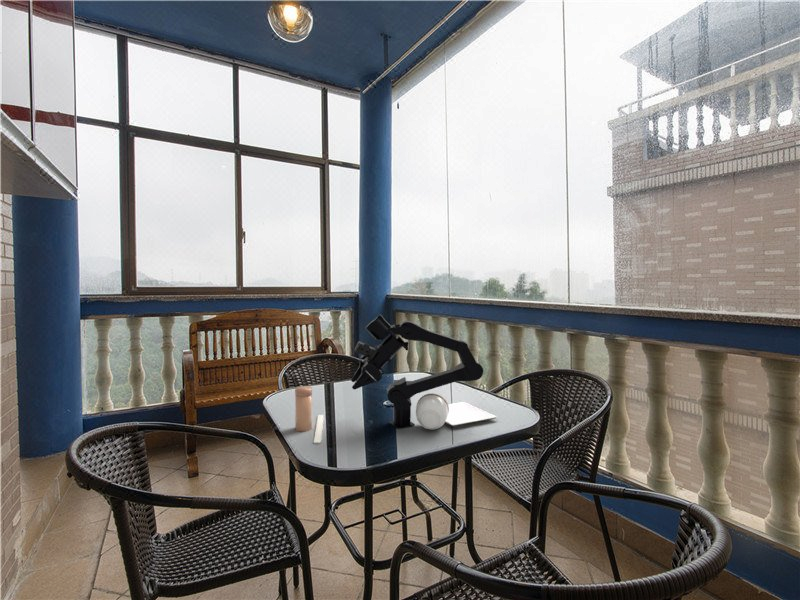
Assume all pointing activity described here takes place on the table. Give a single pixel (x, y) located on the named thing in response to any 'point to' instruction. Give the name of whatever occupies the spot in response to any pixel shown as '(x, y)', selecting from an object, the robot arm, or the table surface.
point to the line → (319, 429)
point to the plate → (466, 414)
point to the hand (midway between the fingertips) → (352, 384)
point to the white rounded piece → (432, 411)
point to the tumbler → (303, 408)
